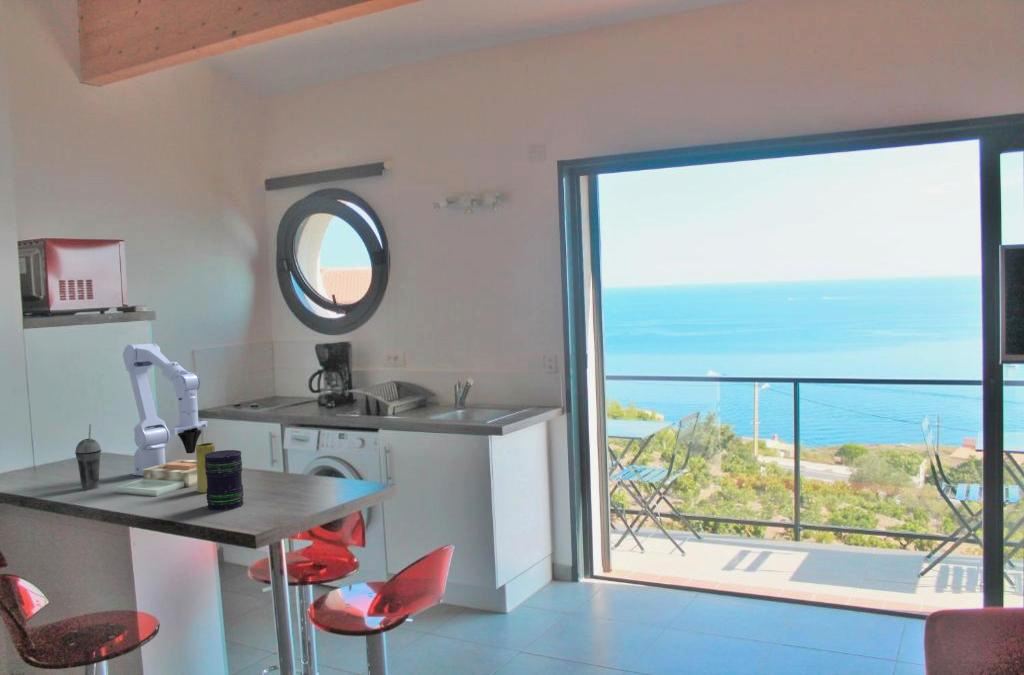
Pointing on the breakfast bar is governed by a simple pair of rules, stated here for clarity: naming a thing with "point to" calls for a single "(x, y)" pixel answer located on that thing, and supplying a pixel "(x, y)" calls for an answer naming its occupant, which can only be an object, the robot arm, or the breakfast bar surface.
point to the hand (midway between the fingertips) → (190, 452)
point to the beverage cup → (88, 462)
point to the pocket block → (173, 473)
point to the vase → (202, 465)
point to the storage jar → (224, 480)
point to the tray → (150, 487)
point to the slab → (180, 466)
